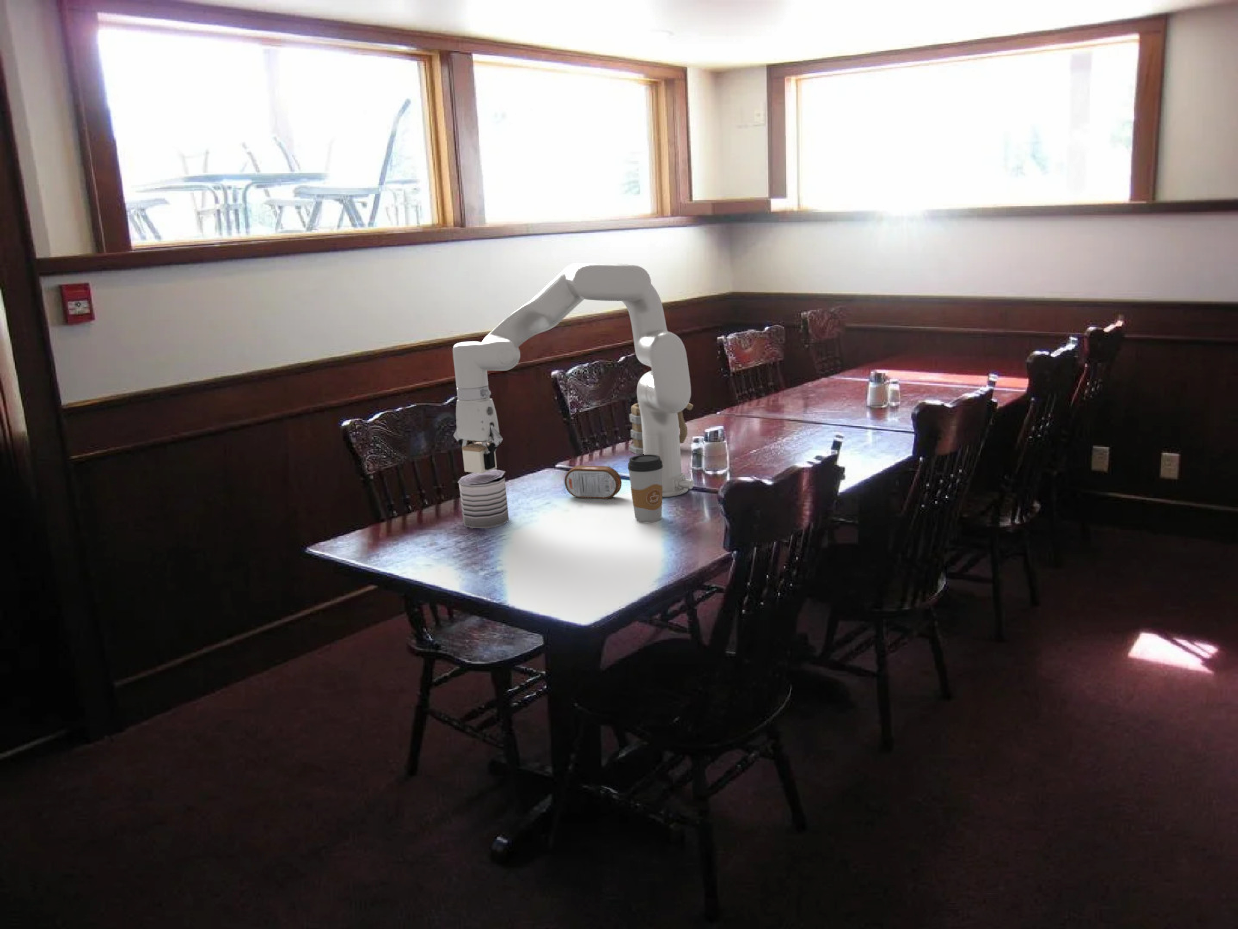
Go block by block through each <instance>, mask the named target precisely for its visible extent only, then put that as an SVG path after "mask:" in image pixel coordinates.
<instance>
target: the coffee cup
mask: <svg viewBox="0 0 1238 929" xmlns="http://www.w3.org/2000/svg"><path fill="white" fill-rule="evenodd" d="M662 467H663V465H662V461H661V459H660V456H658V455H651V454H646V455H643V454H636V455H634V456H631V457H630V458H629V459H628V463H627V469H628V473H629V482H630V493H631V500H632V505H633V512H634V518H635V519H636V521H637V522H638V521H639V523H643V522H650V523H655V522H654V521H656V522H658V521H661V519H662V517H663V497H662Z"/></svg>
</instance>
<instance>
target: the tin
mask: <svg viewBox="0 0 1238 929" xmlns="http://www.w3.org/2000/svg"><path fill="white" fill-rule="evenodd" d="M622 483H623V482H622V478H621V475H620V473H619V472H618V471H617V470H615V469H614V467H611V466H605V465H581V464H580V465H576V466H573V467H572V468H570V470H568V472H567V473H566V475H565V477H564V485H565V489H566V491H567V492H568V493H569V494H570V495H571V496H572V497H575V498H578V499H593V498H596V500H597V499H598V500H599V499H600V500H608V499H609V500H610V499H612V498H613V497H615V496H616V495H617V494H618V493H619V492H620V491H621V489H622Z"/></svg>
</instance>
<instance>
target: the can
mask: <svg viewBox="0 0 1238 929" xmlns="http://www.w3.org/2000/svg"><path fill="white" fill-rule="evenodd" d="M505 473H506V471H505V470H500V469H497V468H496V469H493V470H490V471H487V472H484V473H482V474H481V473H473V472H471V473H469V474H466V475H463V476H461V477H460V478H459V479H458V481H457V483H458V487H459V488H458V489H459V496H460V504H461V515H462V523H464V524H463V525H464V527H465V526H466V527H465V528H467V527H470V528H469V529H473V528H485V529H492V528H496V527H500V525H501V526H503V524H504V523H505V522H506V523H508V522H509V521H510V518H509V508H508V499H507V498H508V496H507V488H506V478H505V476H504V475H505ZM507 521H508V522H507ZM506 523H505V524H506ZM505 524H504V525H505Z"/></svg>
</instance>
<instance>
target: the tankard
mask: <svg viewBox="0 0 1238 929" xmlns="http://www.w3.org/2000/svg"><path fill="white" fill-rule="evenodd" d="M693 407H694V404H692V403H690V402H689V403H688V405H687V406H686V408H685V409H687V410H689V411H691V410H692V409H693ZM630 411H631V413H629V422H630V423H631V426H632V427H631V428H632V429H630V431H629V432H630V438H632V440H633V443H632V444H630V445H629V446H628V451H629V452H631V453H633V454H635V455H643V454H644V453H643V437H642V422H641V414H640V408H639V403H638V402H637V403H634V404H633V405H631V407H630ZM677 415H678V421H679V438H680V444H683V443H685V440H686V438H687V437H688V426H687V424H686V422H685V419H684V414H683V410H682V411H681V412H678V413H677Z"/></svg>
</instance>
